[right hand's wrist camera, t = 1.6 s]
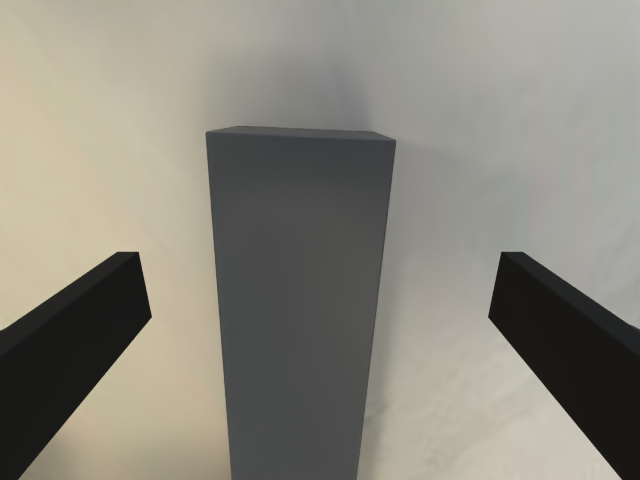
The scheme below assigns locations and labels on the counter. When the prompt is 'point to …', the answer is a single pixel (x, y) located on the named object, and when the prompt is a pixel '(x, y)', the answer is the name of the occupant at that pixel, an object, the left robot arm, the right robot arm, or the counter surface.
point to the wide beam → (297, 292)
